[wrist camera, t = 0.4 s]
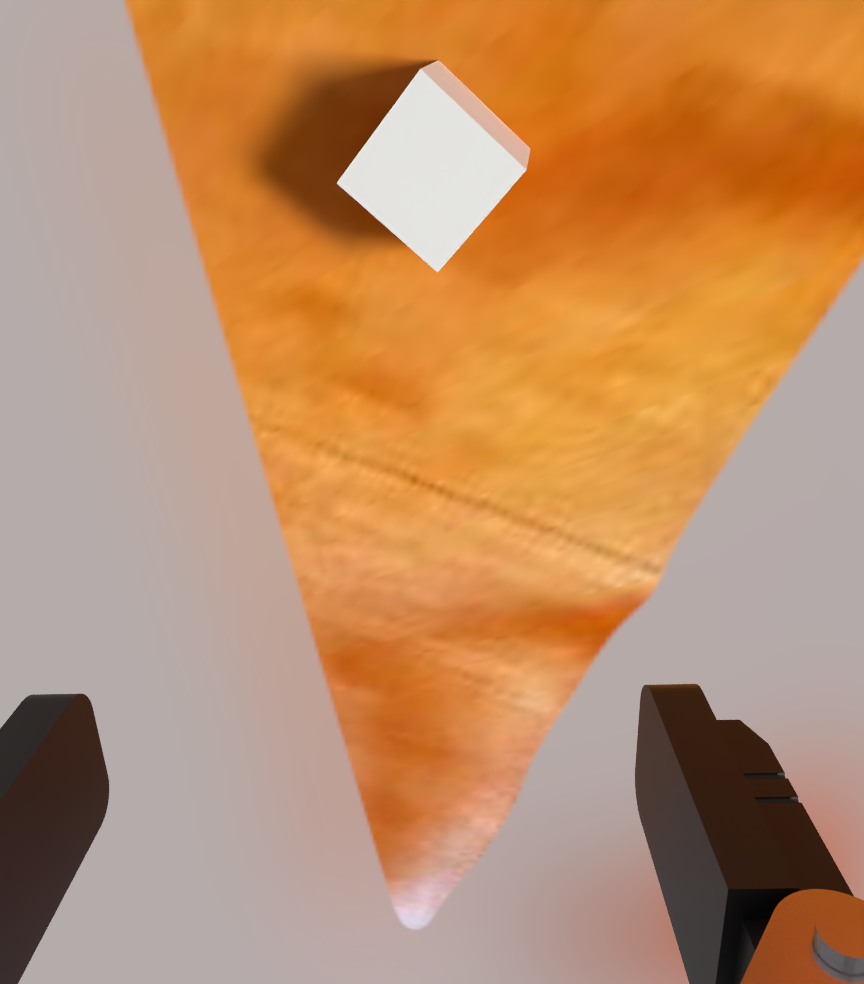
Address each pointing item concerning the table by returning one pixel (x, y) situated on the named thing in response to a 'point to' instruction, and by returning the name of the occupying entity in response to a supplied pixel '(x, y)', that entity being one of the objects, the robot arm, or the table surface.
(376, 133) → the offwhite block
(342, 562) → the table surface
